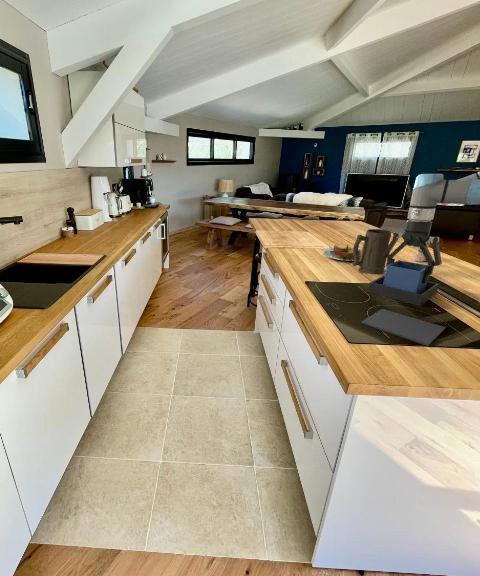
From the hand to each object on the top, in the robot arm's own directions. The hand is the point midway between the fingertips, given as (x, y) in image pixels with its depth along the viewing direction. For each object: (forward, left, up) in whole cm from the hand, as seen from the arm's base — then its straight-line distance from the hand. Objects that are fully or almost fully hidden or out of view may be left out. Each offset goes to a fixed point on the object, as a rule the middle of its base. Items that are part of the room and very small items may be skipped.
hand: (405, 278), depth 118 cm
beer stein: (+21, -18, -7) cm, 29 cm away
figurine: (+12, -60, -7) cm, 62 cm away
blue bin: (0, 0, -5) cm, 5 cm away
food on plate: (+40, -38, -7) cm, 56 cm away
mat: (-10, +27, -7) cm, 30 cm away
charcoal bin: (0, 0, -7) cm, 7 cm away
